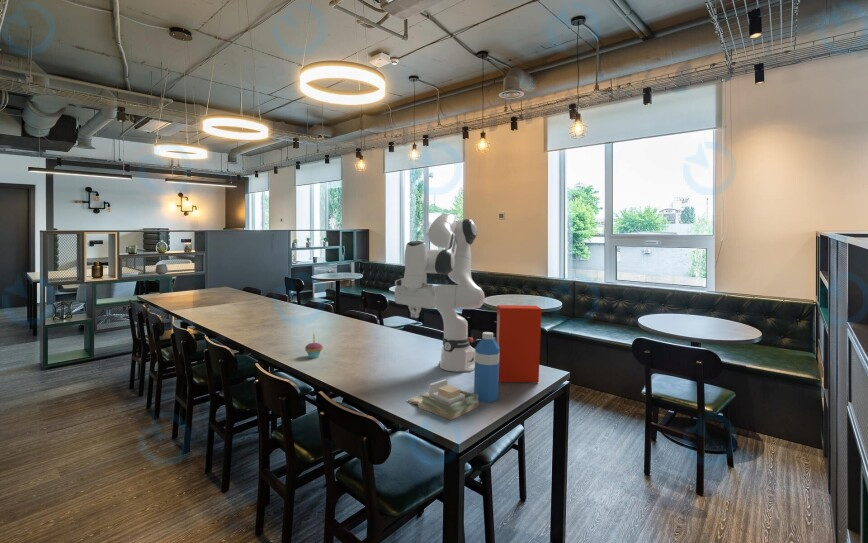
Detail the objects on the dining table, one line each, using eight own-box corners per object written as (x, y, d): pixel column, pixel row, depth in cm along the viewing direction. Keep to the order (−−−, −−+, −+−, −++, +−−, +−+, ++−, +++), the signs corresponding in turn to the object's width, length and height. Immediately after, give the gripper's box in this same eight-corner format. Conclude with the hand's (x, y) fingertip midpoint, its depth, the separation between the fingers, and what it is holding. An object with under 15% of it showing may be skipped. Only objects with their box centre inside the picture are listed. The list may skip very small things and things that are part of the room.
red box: (538, 383, 175) (541, 308, 172) (498, 382, 174) (500, 307, 172) (533, 377, 183) (536, 305, 180) (494, 376, 183) (497, 304, 180)
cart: (444, 396, 153) (444, 379, 153) (464, 404, 146) (465, 386, 146) (429, 401, 148) (429, 384, 147) (449, 410, 141) (449, 391, 140)
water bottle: (496, 393, 163) (497, 330, 161) (500, 402, 153) (502, 336, 152) (472, 392, 162) (474, 330, 161) (475, 402, 153) (477, 335, 151)
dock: (431, 392, 164) (431, 379, 164) (478, 409, 149) (479, 394, 149) (402, 404, 152) (402, 389, 152) (450, 423, 137) (451, 407, 137)
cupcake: (305, 355, 210) (305, 332, 209) (322, 354, 213) (322, 331, 212) (305, 359, 202) (305, 335, 201) (323, 358, 205) (323, 334, 204)
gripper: (440, 284, 158) (439, 319, 159) (403, 280, 171) (402, 313, 172) (429, 285, 153) (428, 322, 154) (392, 280, 166) (391, 314, 167)
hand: (414, 317), depth 163 cm, fingers closed
